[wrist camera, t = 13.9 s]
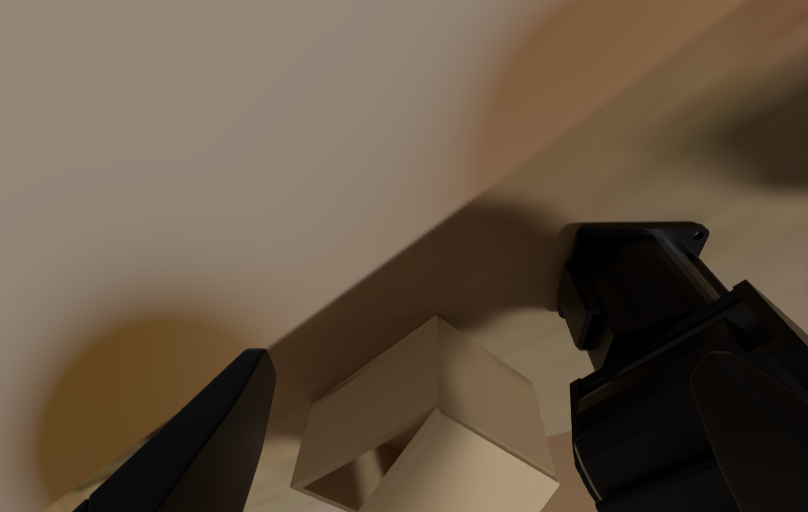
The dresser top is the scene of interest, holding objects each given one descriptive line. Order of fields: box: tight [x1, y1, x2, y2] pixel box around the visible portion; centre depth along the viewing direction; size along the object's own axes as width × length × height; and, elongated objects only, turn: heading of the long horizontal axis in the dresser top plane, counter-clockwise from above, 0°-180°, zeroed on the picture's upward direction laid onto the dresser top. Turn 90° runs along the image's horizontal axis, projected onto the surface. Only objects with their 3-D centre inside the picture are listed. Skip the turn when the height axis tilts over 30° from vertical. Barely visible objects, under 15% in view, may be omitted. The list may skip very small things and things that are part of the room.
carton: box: [290, 315, 555, 512], centre depth 28 cm, size 14×10×6 cm
